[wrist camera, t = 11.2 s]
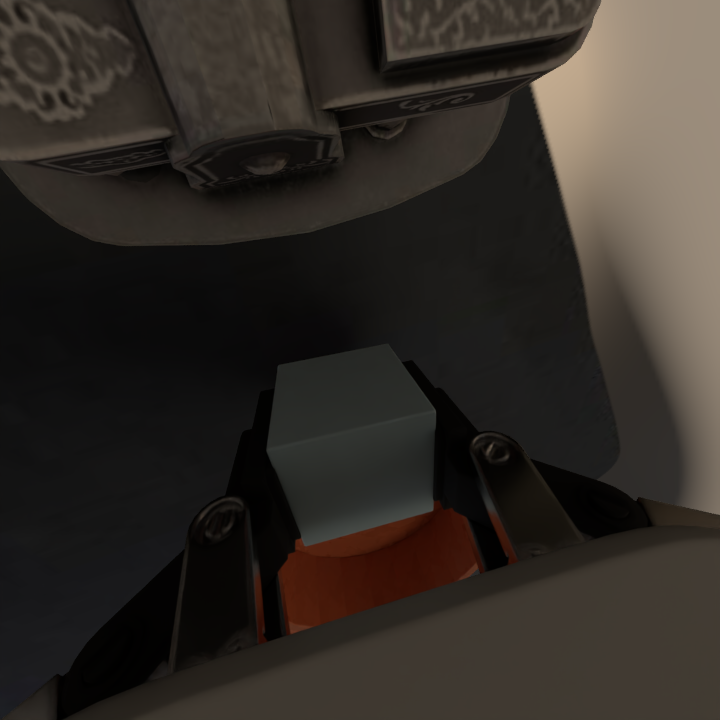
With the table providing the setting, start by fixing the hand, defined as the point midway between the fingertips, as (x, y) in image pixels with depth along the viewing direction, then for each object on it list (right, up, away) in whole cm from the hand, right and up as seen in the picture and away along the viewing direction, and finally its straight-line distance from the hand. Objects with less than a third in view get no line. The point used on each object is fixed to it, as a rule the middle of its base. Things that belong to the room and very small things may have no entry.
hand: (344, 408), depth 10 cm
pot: (+1, -9, +10) cm, 14 cm away
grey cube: (0, 0, +1) cm, 1 cm away
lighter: (-2, +9, 0) cm, 10 cm away
